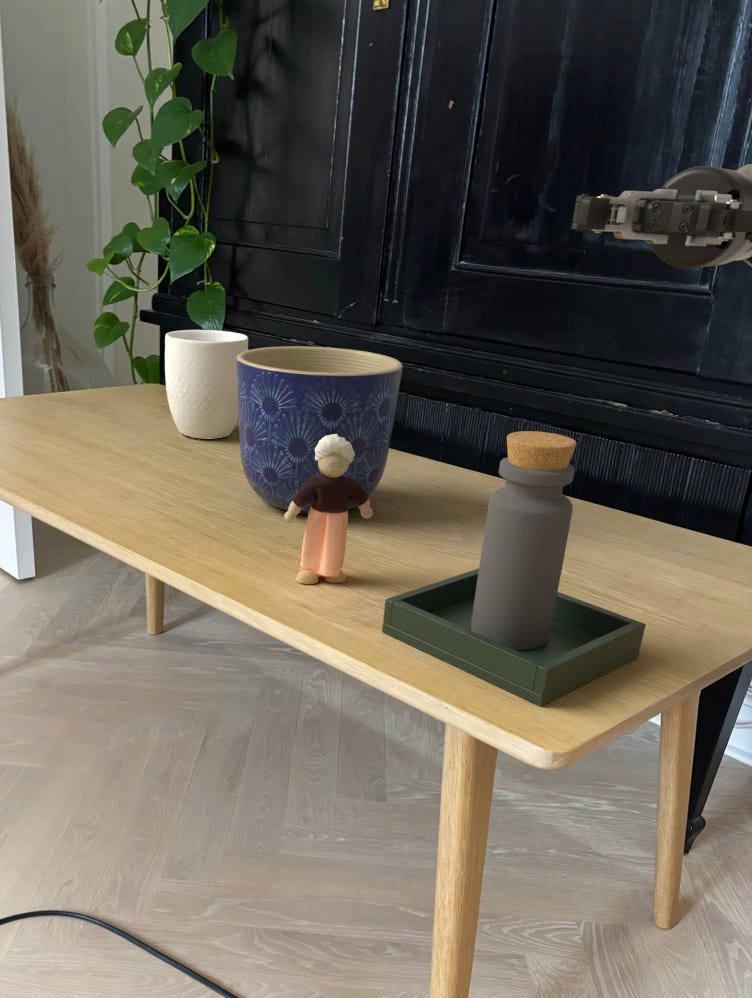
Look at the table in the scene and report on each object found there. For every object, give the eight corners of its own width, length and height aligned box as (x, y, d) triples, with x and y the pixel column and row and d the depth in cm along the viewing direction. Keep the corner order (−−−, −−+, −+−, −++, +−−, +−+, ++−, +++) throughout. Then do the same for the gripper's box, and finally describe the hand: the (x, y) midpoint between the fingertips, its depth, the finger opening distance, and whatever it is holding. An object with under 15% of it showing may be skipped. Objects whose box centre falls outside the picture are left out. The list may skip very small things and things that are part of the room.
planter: (273, 535, 92) (280, 376, 86) (209, 488, 106) (211, 347, 99) (419, 518, 99) (435, 370, 93) (340, 476, 113) (350, 344, 106)
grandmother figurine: (295, 590, 80) (304, 442, 74) (277, 574, 83) (284, 431, 77) (374, 580, 83) (388, 437, 77) (354, 565, 86) (366, 426, 80)
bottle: (489, 612, 75) (518, 424, 69) (559, 632, 72) (597, 438, 66) (457, 635, 71) (484, 437, 65) (530, 658, 68) (567, 453, 62)
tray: (638, 657, 71) (646, 623, 70) (540, 707, 63) (547, 670, 62) (482, 595, 81) (486, 565, 79) (381, 632, 73) (385, 598, 72)
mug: (170, 417, 137) (170, 324, 132) (246, 421, 138) (249, 327, 132) (161, 442, 124) (160, 339, 118) (244, 445, 124) (248, 343, 119)
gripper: (634, 166, 81) (556, 155, 69) (816, 170, 73) (762, 158, 61) (617, 260, 84) (539, 264, 72) (789, 274, 76) (733, 281, 65)
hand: (641, 216), depth 67 cm, fingers open, 8 cm apart
